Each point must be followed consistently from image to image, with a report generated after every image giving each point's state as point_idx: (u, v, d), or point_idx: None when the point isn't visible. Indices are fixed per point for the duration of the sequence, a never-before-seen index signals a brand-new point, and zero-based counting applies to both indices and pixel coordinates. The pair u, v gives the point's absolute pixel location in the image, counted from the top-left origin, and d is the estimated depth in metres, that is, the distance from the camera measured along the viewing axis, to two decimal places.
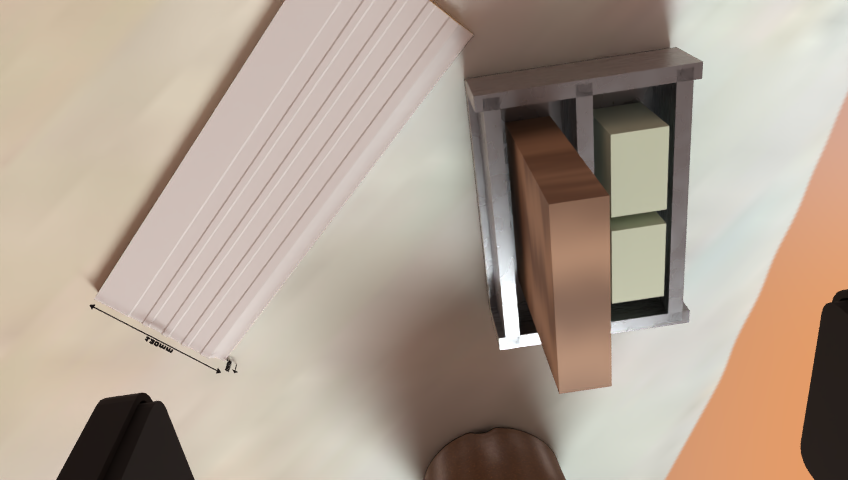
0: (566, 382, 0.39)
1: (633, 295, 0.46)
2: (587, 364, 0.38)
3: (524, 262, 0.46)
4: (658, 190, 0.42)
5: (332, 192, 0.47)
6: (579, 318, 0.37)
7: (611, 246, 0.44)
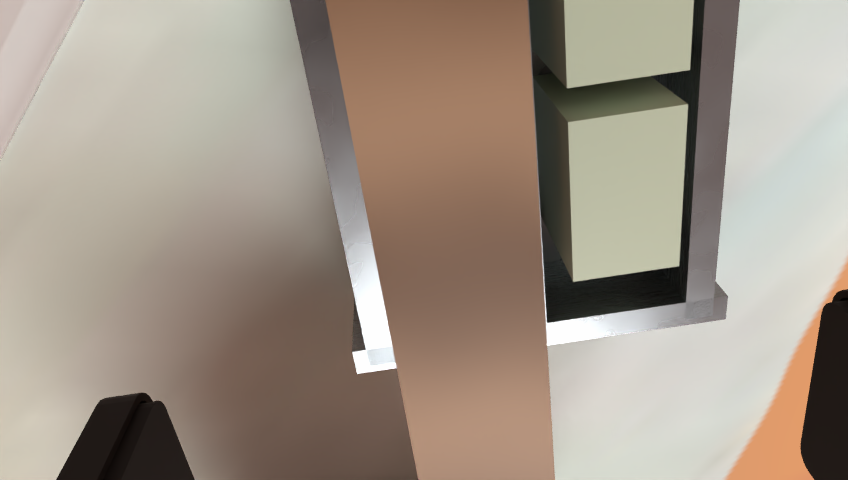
0: None
1: (616, 265, 0.22)
2: (489, 436, 0.15)
3: None
4: (672, 22, 0.19)
5: (0, 51, 0.23)
6: (456, 317, 0.13)
7: (568, 157, 0.20)
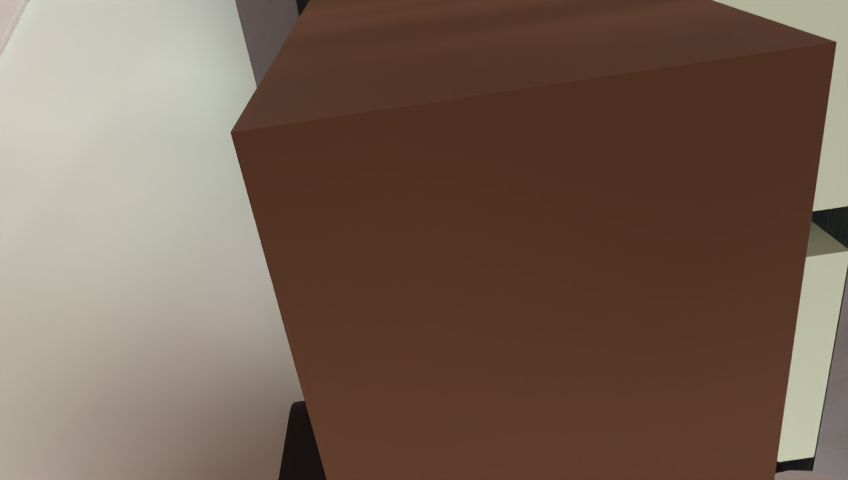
0: None
1: None
2: None
3: None
4: (839, 139, 0.12)
5: None
6: None
7: None
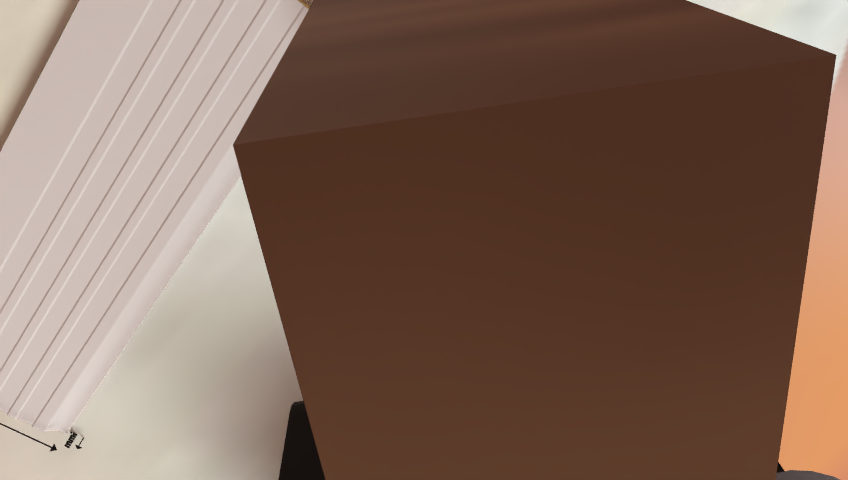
0: None
1: None
2: None
3: None
4: None
5: (175, 229, 0.37)
6: None
7: None
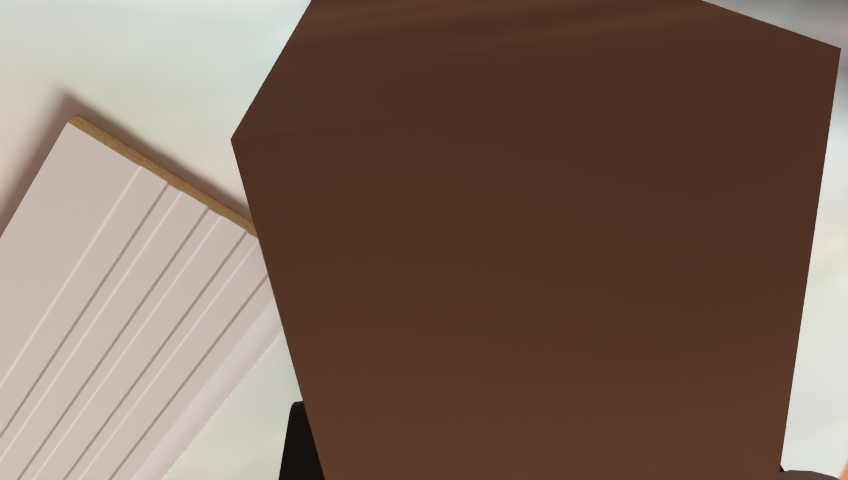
0: None
1: None
2: None
3: None
4: None
5: None
6: None
7: None
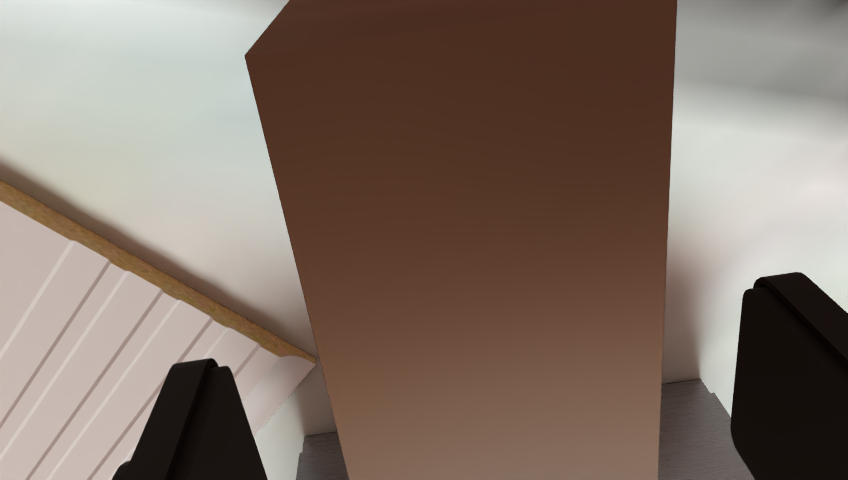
0: None
1: None
2: None
3: None
4: None
5: None
6: None
7: None
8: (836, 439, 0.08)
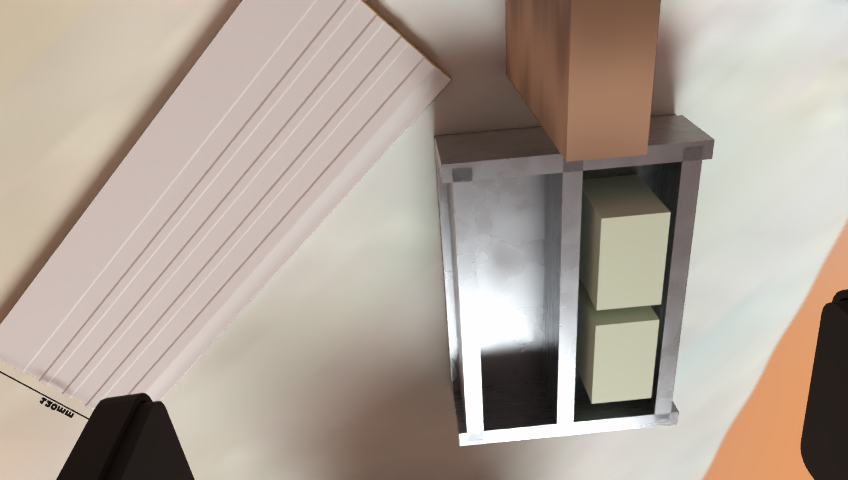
0: (578, 142, 0.25)
1: (616, 396, 0.40)
2: (614, 109, 0.24)
3: (519, 19, 0.32)
4: (653, 283, 0.36)
5: (273, 248, 0.40)
6: (608, 19, 0.23)
7: (594, 341, 0.38)
8: None
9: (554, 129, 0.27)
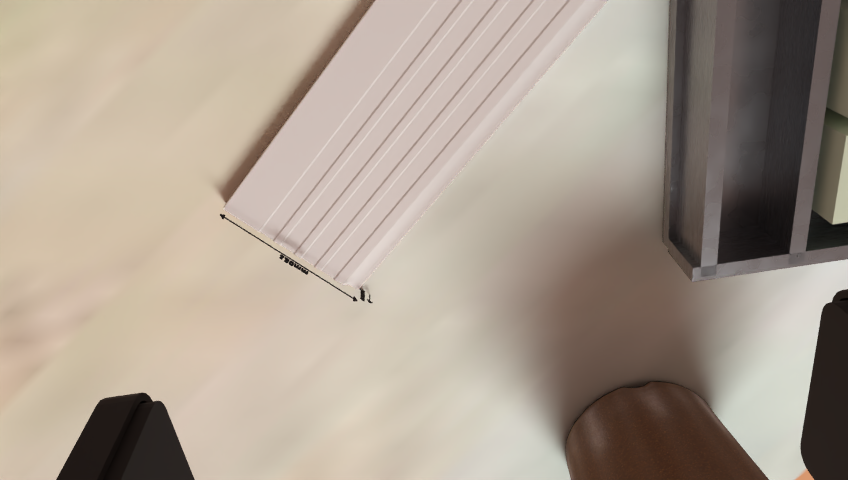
0: None
1: None
2: None
3: None
4: None
5: (510, 87, 0.41)
6: None
7: (842, 154, 0.38)
8: None
9: None
